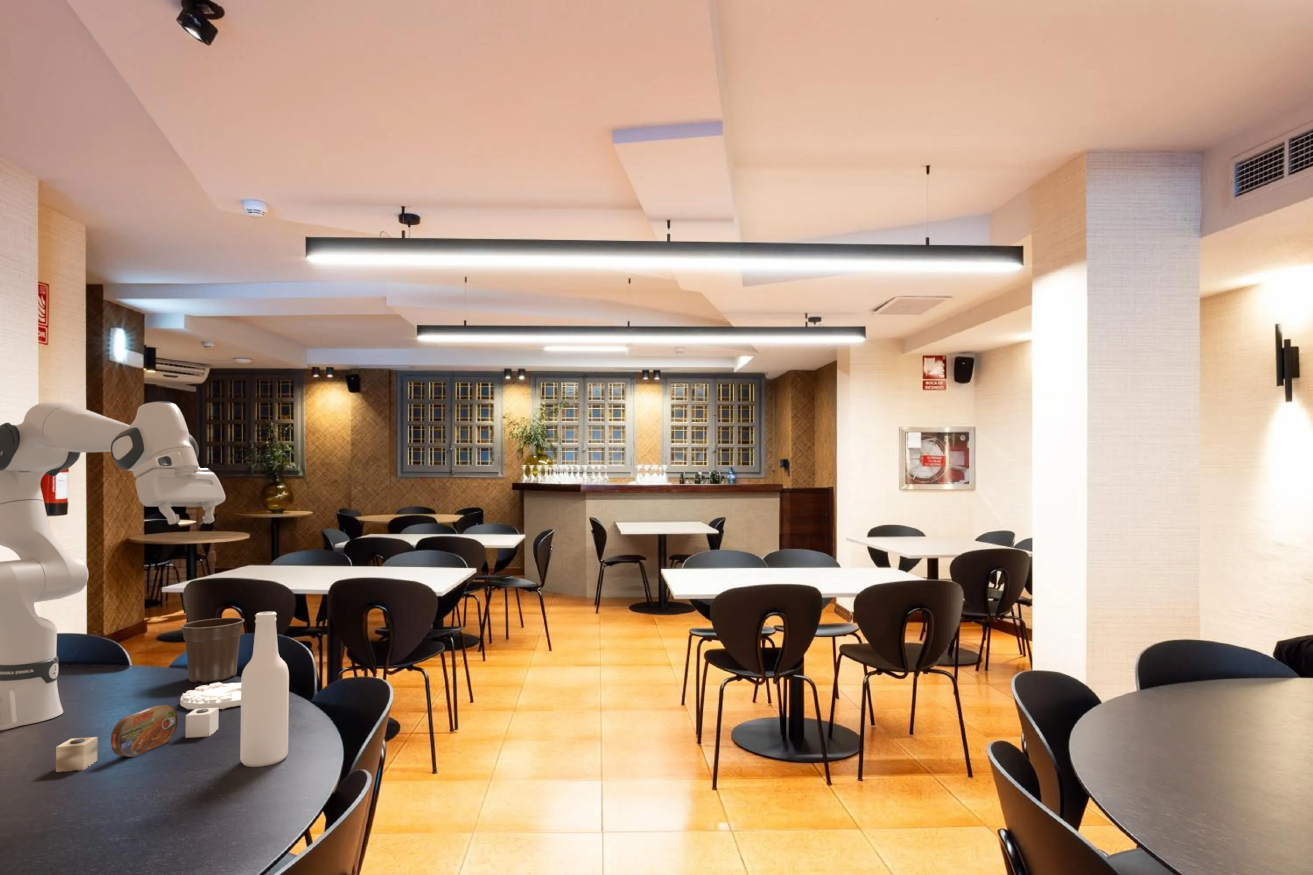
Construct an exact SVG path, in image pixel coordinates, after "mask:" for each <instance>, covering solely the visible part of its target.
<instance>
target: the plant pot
mask: <svg viewBox="0 0 1313 875" xmlns="http://www.w3.org/2000/svg"><path fill="white" fill-rule="evenodd" d="M244 622H245V619H244V618H242V617H222V618H209V619H202V620H196V621H191V622H186V623H183V624H182V625H180V629H182V634H183V640H184V642H185V648H186V649H185V650H186V660H187V670H188V681H190V682H192V683H198V682H202V683H211V682H213V683H215V682H220V681H223V680H228V679H230V678H231V677H235V676H236V675H237V672H238V671H237V670H238V661H239V651H240V650H239V649H240V640H241V634H242V631H243V623H244Z"/></svg>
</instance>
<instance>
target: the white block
mask: <svg viewBox="0 0 1313 875" xmlns="http://www.w3.org/2000/svg"><path fill="white" fill-rule="evenodd" d="M219 711H220V710H219V708H203V709H192V710H191V711H190V712H188V713H187V714H186V715H185V738H187V739H188V738H200V737H201V738H204V737H210V736H212V735H213V734H214V733H215V732H217V731H218V730H219ZM216 730H217V731H216ZM211 734H212V735H211Z"/></svg>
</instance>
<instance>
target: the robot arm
mask: <svg viewBox="0 0 1313 875" xmlns="http://www.w3.org/2000/svg"><path fill="white" fill-rule="evenodd" d="M199 451H200V449H199V445H198V443H197V441H196V439H195V438H194V437H193V435H191V434H190V432H189V429H188V426H187V423H186V420H185V416H184V415H183V413H182V411H181V409H180V407H178V405H177V404H176V403H174V402H171V401H164V400H163V401H161V400H159V401H158V400H157V401H151V402H150V401H149V402H146V403H144V404H142V405H140V406H139V407H138V408H137V411H136V416H135V419H134V420H133V421H132V422H131V424H127V423H125V422H121V421H119V420H116V419H113V418H110V417H107V416H104V415H102V414H99V413H97V412H95V411H91V410H89V409H86V408H84V407H83V408H82V407H80V406H76V405H72V404H68V403H63V402H62V403H61V402H42V403H37V404H35V405H33V406H32V407H30V408H29V409H28V410H27V411H26V413H25V415H24V418H23V421H22V422H21V423H19V424H11V423H10V422H4V423H2V424H0V546H2V547H5V548H7V549H9V550H10V551H13V552H14V553H15V554H16V555H17V556H18V558H19V559H14V560H4V561H0V731H4V730H5V731H6V730H9V729H13V728H17V727H20V726H21V727H22V726H25V725H26V726H27V725H31V724H36V723H40V722H44V721H47V720H50V719H53V718H56V717H58V716H61V715H62V714H63V713H64V709H63V706H62V704H61V700H60V695H59V690H58V677H59V656H58V655H57V644H58V643H57V642H58V641H57V640H58V639H57V638H58V629H57V626H56V625H55V624H54V622H53V621H52V620H49V619H48V618H44V617H42V616H39V615H38V614H37V612H36V609H35V603H40V602H48V601H53V600H59V599H63V598H64V599H65V598H67V597H69V596H72V595H76V594H78V593H80V592H81V591H83V590H84V588H85V587H86V585H87V583H88V580H89V569H88V567H87V565H86V563H85V562H84V561H83V560H82V558H79V557H77V556H75V555H73V554H71V553H70V552H69V551H68V550H66V549H65V547H63V546H62V545H61V543H60V542H59V541H58V540H57V538H56V537H55V535H54V533H53V532H52V529H51V526H50V523H49V520H48V518H49V517H48V514H47V510H46V504H45V500H44V497H43V492H42V488H41V482H42V479H43V477H44V476H45V475H47V476H49V477H55V476H58V475H59V474H60V472H63V471H65V470H67V469H70V468H71V467H72V466H73V465H75V463H77V462H78V460H80V456H81V453H106V452H110V453H111V454H110V455H111V457H112V459H113V462H114V463H115V465H116V466H117V467H118V468H120V469H121V470H123V471H130V472H132V475H133V477H134V478H136V479H135V489H136V493H137V496H138V500H139V502H140V503H141V505H143V506H145V507H158V509H159V512H160V513H161V514H162V515H163V516H164V517H165V518H166V520H167V524H168V525H176V524H179V523H180V522H181V519H180V514H179V513H178V514H177V513H175V511H174V510H173V509H172V507H202V510H203V511H204V515H203V516H202V517H201V518H202V521H203V524H211V523H213V522H215V516H214V513H215V509H216V506H218V505H221V504H222V503H224V502H225V501H226V494H225V491H224V488H223V486H222V484H221V482H220V480H219V478H218V477H217V475H216V474H215V472H213V471H212V470H211V469H209V468H207V467H204V468H201V467H200V465H199V462H198V458H199V455H200V454H199V453H200V452H199Z"/></svg>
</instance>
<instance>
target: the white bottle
mask: <svg viewBox="0 0 1313 875" xmlns="http://www.w3.org/2000/svg"><path fill="white" fill-rule="evenodd" d="M277 614H278V613H277V612H276V611H260V612H258V613H256V614H254V617H255V620H254V623H255V629H254V630H255V631H254V638H253V640H254V641H253V648H252V649H253V651H252V655H251V658H250V660H249V661H248V663H247V664H246V665H245V667H244V668H243V670H242V673H241V677H240V678H241V680H240V683H241V705H240V743H239V744H240V751H239V753H240V756H239V758H240V762H241V763H242V764H243V765H244V766H245V767H249V768H259V767H260V768H261V767H265V766H271V765H274V764H277V763H281V762H282V761H283V760H285V758H286V757H287V755H288V753H289V713H290V712H289V709H290V708H289V706H290V705H289V704H290V703H289V699H290V697H289V696H290V695H289V694H290V692H289V691H290V690H289V689H290V688H289V687H290V674H289V673H290V672H289V668H288V664H287V663H286V661H285V660H283V658H282V657H280V654H279V646H278V634H277V632H278V631H277Z"/></svg>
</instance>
